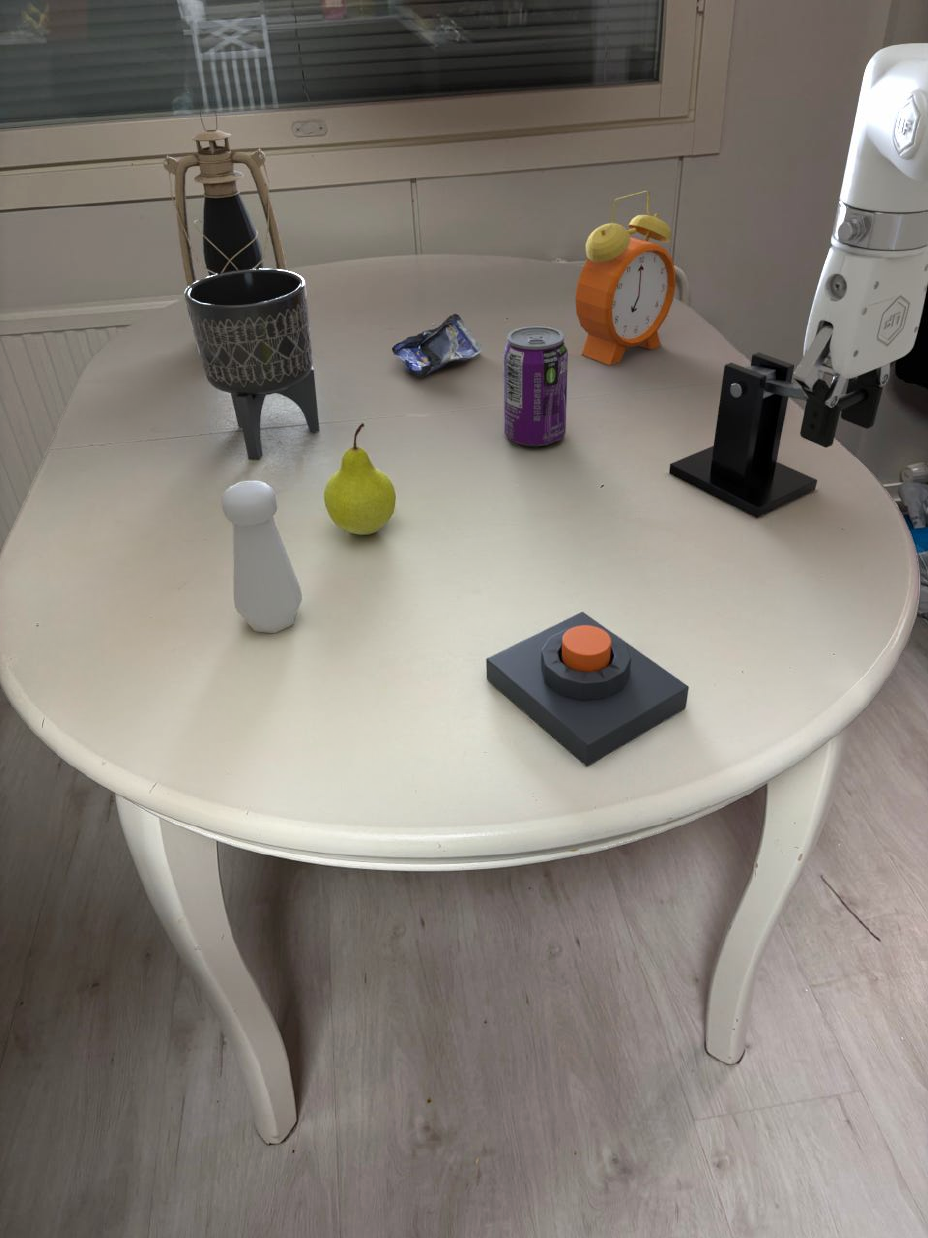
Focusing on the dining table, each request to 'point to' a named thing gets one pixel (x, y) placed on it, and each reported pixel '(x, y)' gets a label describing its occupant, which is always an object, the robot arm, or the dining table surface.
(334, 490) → the fruit
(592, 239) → the alarm clock
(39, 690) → the dining table surface
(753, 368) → the switch lever
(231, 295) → the planter
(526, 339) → the beverage can
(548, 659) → the block
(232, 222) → the lantern
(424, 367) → the snack package
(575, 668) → the button
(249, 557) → the salt shaker
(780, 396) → the switch bracket
